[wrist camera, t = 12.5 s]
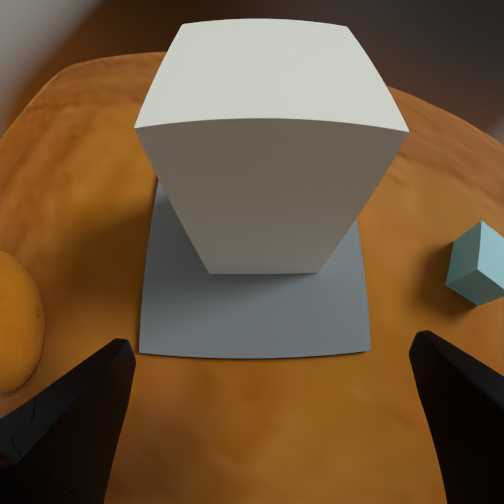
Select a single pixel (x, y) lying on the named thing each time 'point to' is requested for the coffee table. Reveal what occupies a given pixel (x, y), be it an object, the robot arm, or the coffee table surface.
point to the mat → (248, 302)
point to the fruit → (19, 323)
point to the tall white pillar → (268, 140)
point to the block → (477, 265)
